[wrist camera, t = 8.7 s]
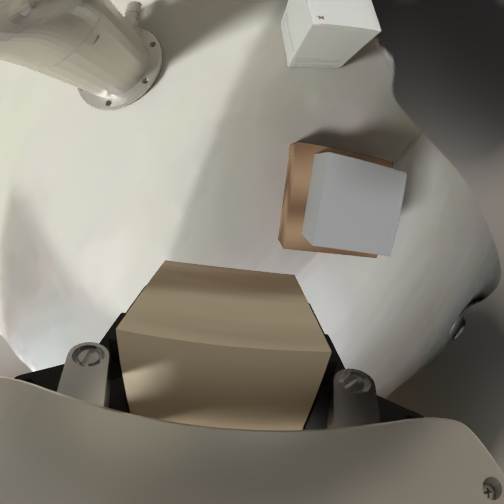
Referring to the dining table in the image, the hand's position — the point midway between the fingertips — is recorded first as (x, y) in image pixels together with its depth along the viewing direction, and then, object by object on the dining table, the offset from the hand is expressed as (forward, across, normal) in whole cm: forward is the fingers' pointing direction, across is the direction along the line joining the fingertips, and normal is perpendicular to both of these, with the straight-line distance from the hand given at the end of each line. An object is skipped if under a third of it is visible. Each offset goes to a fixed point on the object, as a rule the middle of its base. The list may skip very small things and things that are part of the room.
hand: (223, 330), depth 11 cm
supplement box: (+26, -7, -25) cm, 36 cm away
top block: (+21, -12, -4) cm, 25 cm away
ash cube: (+1, 0, 0) cm, 1 cm away
